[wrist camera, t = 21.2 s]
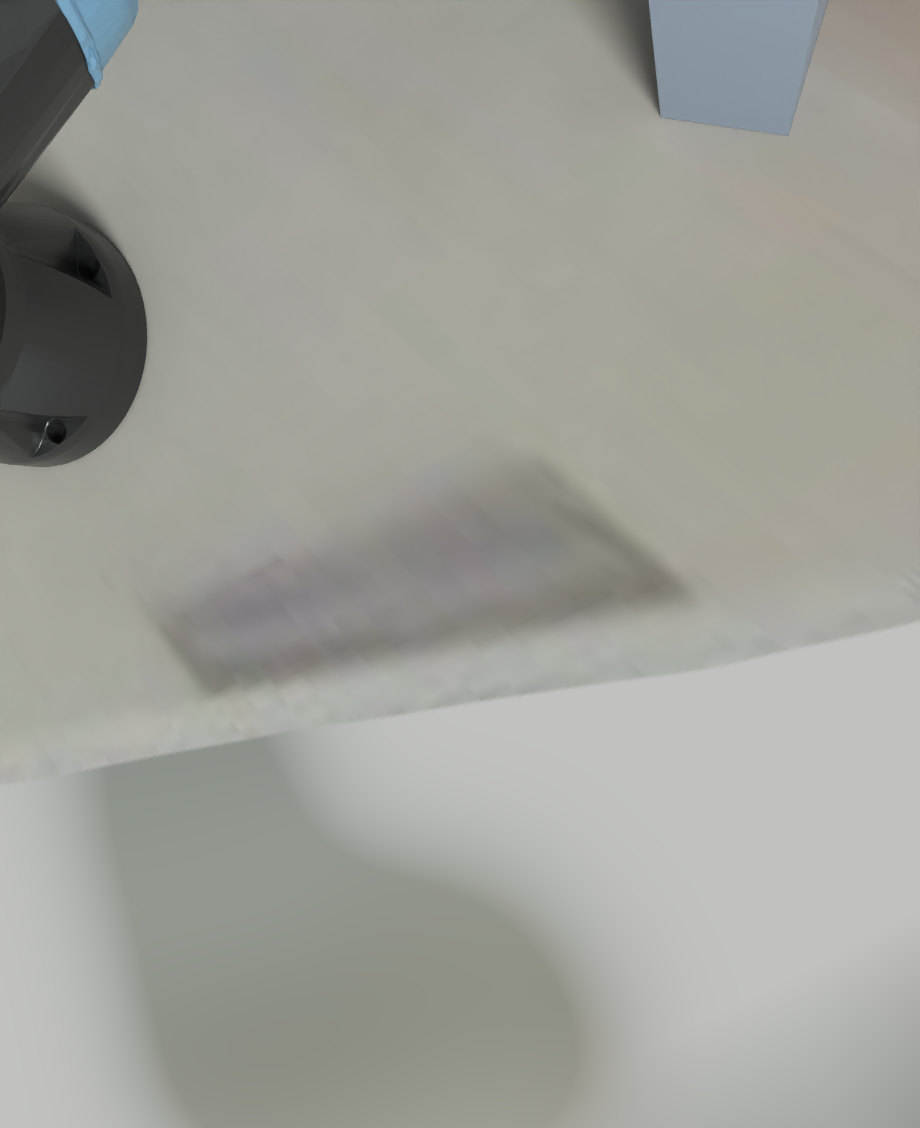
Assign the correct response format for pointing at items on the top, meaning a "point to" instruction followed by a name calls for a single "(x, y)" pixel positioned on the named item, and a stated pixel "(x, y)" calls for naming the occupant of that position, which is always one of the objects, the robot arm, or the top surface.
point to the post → (733, 60)
